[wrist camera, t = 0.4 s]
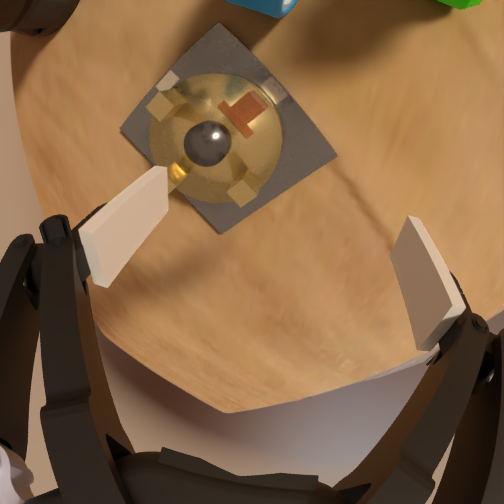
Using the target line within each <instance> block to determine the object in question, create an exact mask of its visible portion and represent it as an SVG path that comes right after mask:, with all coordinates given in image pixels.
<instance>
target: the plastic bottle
mask: <svg viewBox="0 0 504 504" xmlns="http://www.w3.org/2000/svg"><path fill="white" fill-rule="evenodd" d="M436 1H439V2H441V3H444V4H447V5H449V6H452V7H454V8H457V9H459V10H461V9H465V8H469V7H472V6H476V5H479V4H480V3H481V1H482V0H436Z"/></svg>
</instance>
